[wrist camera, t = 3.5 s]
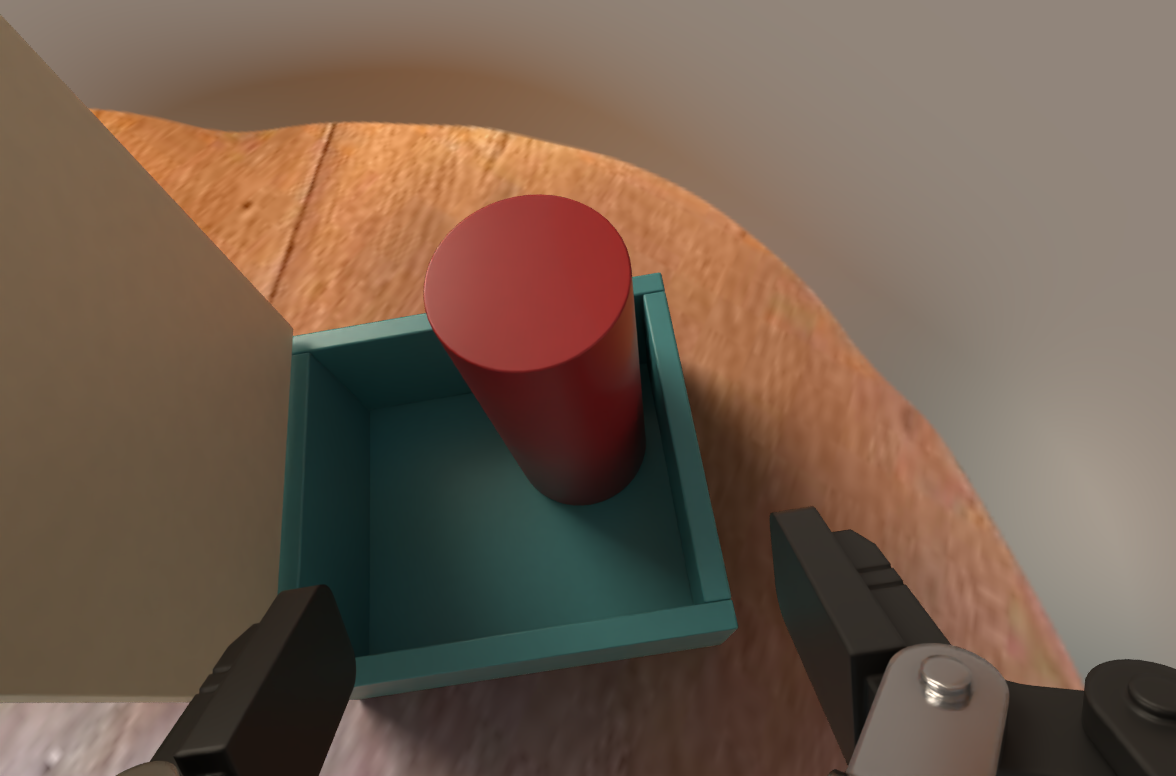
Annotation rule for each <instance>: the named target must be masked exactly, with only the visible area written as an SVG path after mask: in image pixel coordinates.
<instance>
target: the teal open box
mask: <svg viewBox="0 0 1176 776" xmlns="http://www.w3.org/2000/svg"><path fill="white" fill-rule="evenodd" d="M632 281H633V293H634V305H635V317H636V329H637V341H638V353H639V365H640V377H641V389H642V401H643V412H644V424H645V436H646V448H645V454H644V458H643V461H642V464H641V466H640V469H639V471H638V472H637V474H636V476H635V477H634V478H633V480H632V481H631V482H630V483H629V484H628V485H627V486H626V487H625V488H624V489H623V490H622V491H621V492H619V493H618V494H616V495H615V496H613V497H611V498H609V499H607V500H605V501H602V502H599V503H595V504H591V505H568V504H563V503H560V502H557V501H554V500H552V499H550V498H548V497H546V496H545V495H543V494H542V493H540V492H539V491H538V490H537V489H536V488H535V487H534V486H533V485H532V484H531V483H530V481H529V480H528V479H527V477H526V476H525V474H524V472H523V471H522V469H521V468H520V466H519V465H518V463H517V461H516V460H515V458H514V457H513V455H512V454H511V452H510V450H509V449H508V447H507V446H506V444H505V443H504V441H503V440H502V438H501V436H500V435H499V433H498V432H497V430H496V429H495V427H494V425H493V424H492V422H491V421H490V419H489V418H488V416H487V414H486V413H485V411H484V410H483V408H482V407H481V405H480V403H479V402H478V400H477V399H476V397H475V396H474V394H473V393H472V391H471V389H470V388H469V386H468V385H467V383H466V382H465V380H464V378H463V377H462V375H461V374H460V372H459V371H458V369H457V367H456V366H455V364H454V363H453V361H452V360H451V358H450V356H449V355H448V353H447V352H446V350H445V349H444V347H443V345H442V344H441V342H440V341H439V339H438V338H437V336H436V335H435V333H434V331H433V329H432V327H431V325H430V323H429V321H428V318H427V315H426V313H424V314H418V315H412V316H406V317H401V318H395V319H389V320H384V321H378V322H372V323H366V324H361V325H355V326H349V327H343V328H338V329H332V330H326V331H320V332H315V333H309V334H303V335H297V336H293V339H292V356H291V373H290V390H289V407H288V424H287V441H286V458H285V475H284V492H283V509H282V526H281V543H280V560H279V577H278V594H279V593H280V592H281V591H284V590H290V589H296V588H302V587H309V586H315V585H321V584H325V585H327V586H328V587H329V588H330V589H331V591H332V593H333V595H334V598H335V600H336V603H337V606H338V609H339V611H340V614H341V617H342V620H343V622H344V625H345V628H346V631H347V633H348V636H349V639H350V642H351V644H352V647H353V650H354V654H355V659H356V679H355V684H354V688H353V691H352V693H351V696H350V698H349V700H359V699H366V698H372V697H379V696H386V695H392V694H399V693H405V692H412V691H419V690H425V689H432V688H438V687H445V686H452V685H458V684H465V683H471V682H478V681H485V680H491V679H498V678H504V677H511V676H518V675H524V674H531V673H537V672H544V671H550V670H557V669H564V668H570V667H577V666H583V665H590V664H597V663H603V662H610V661H616V660H623V659H630V658H636V657H643V656H649V655H656V654H663V653H669V652H676V651H682V650H689V649H696V648H702V647H709V646H715V645H721V644H722V643H723V642H724V641H725V640H726V639H727V638H728V637H729V636H731V635H732V634H733V633H734V632H735V631H736V630H737V629H738V624H737V619H736V615H735V610H734V605H733V601H732V600H730V599H731V592H730V588H729V583H728V579H727V574H726V569H725V565H724V560H723V556H722V551H721V546H720V542H719V537H718V532H717V528H716V523H715V519H714V514H713V509H712V505H711V500H710V496H709V491H708V486H707V482H706V477H705V473H704V468H703V463H702V459H701V454H700V450H699V445H698V440H697V436H696V431H695V427H694V422H693V417H692V413H691V408H690V404H689V399H688V394H687V390H686V385H685V381H684V376H683V371H682V367H681V362H680V358H679V353H678V348H677V344H676V339H675V335H674V330H673V325H672V321H671V316H670V312H669V307H668V302H667V298H666V294H665V289H664V284H663V279H662V275H661V273H653V274H648V275H642V276H636V277H632ZM278 594H277V595H278Z"/></svg>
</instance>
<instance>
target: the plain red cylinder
mask: <svg viewBox="0 0 1176 776" xmlns="http://www.w3.org/2000/svg"><path fill="white" fill-rule="evenodd" d="M424 306H425V311H426V315H427V318H428V321H429V323H430V325H431V327H432V329H433V331H434V333H435V335H436V336H437V338H438V339H439V341H440V342H441V344H442V345H443V347H444V349H445V350H446V352H447V353H448V355H449V356H450V358H451V360H452V361H453V363H454V364H455V366H456V367H457V369H458V371H459V372H460V374H461V375H462V377H463V378H464V380H465V382H466V383H467V385H468V386H469V388H470V389H471V391H472V393H473V394H474V396H475V397H476V399H477V400H478V402H479V403H480V405H481V407H482V408H483V410H484V411H485V413H486V414H487V416H488V418H489V419H490V421H491V422H492V424H493V425H494V427H495V429H496V430H497V432H498V433H499V435H500V436H501V438H502V440H503V441H504V443H505V444H506V446H507V447H508V449H509V450H510V452H511V454H512V455H513V457H514V458H515V460H516V461H517V463H518V465H519V466H520V468H521V469H522V471H523V472H524V474H525V476H526V477H527V479H528V480H529V481H530V483H531V484H532V485H533V486H534V487H535V488H536V489H537V490H538V491H539V492H540V493H542V494H543V495H545V496H546V497H548V498H550V499H552V500H554V501H557V502H560V503H563V504H568V505H591V504H595V503H599V502H602V501H605V500H607V499H609V498H611V497H613V496H615V495H616V494H618V493H619V492H621V491H622V490H623V489H624V488H625V487H626V486H627V485H628V484H629V483H630V482H631V481H632V480H633V478H634V477H635V476H636V474H637V472H638V471H639V469H640V466H641V464H642V461H643V458H644V454H645V448H646V436H645V424H644V412H643V401H642V389H641V377H640V365H639V353H638V341H637V329H636V317H635V305H634V293H633V281H632V270H631V262H630V257H629V254H628V251H627V248H626V246H625V244H624V241H623V239H622V237H621V236H620V235H619V233H618V232H617V230H616V229H615V228H614V227H613V225H612V224H611V223H610V222H609V221H608V220H607V219H606V218H604V217H603V216H602V215H601V214H599V213H598V212H597V211H595V210H593V209H592V208H590V207H588V206H586V205H584V204H582V203H580V202H577V201H574V200H571V199H568V198H564V197H559V196H553V195H524V196H517V197H512V198H508V199H504V200H501V201H498V202H495V203H492V204H490V205H488V206H486V207H483V208H481V209H479V210H478V211H476V212H474V213H473V214H471V215H469V216H468V217H466V218H465V219H464V220H463V221H461V222H460V223H459V224H457V225H456V226H455V227H454V228H453V229H452V230H451V231H450V232H449V233H448V234H447V236H446V237H445V238H444V239H443V240H442V242H441V243H440V245H439V246H438V248H437V249H436V251H435V252H434V255H433V257H432V259H431V261H430V263H429V266H428V269H427V272H426V276H425V282H424Z"/></svg>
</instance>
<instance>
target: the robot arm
mask: <svg viewBox="0 0 1176 776" xmlns="http://www.w3.org/2000/svg"><path fill="white" fill-rule="evenodd" d="M770 532H771V543H772V554H773V564H774V575H775V585H776V592H777V598H778V602H779V606H780V610H781V613H782V617H783V619H784V622H785V624H786V627H787V629H788V631H789V633H790V636H791V638H792V640H793V643H794V645H795V647H796V649H797V652H798V654H799V656H800V658H801V661H802V663H803V665H804V667H805V670H806V672H807V674H808V677H809V679H810V681H811V683H812V686H813V688H814V690H815V692H816V695H817V697H818V699H819V701H820V704H821V706H822V708H823V711H824V713H825V715H826V717H827V720H828V722H829V724H830V726H831V729H832V731H833V733H834V735H835V738H836V740H837V742H838V744H839V747H840V749H841V751H842V754H843V756H844V758H845V760H846V763H847V765H848V768H847V770H846V771H845V773H844V772H841V771H839V770H836V769H834V770H832V771H831V772H830V773H829V775H828V776H1176V669H1174V668H1171V667H1168V666H1165V665H1161V664H1157V663H1154V662H1148V661H1142V660H1130V659H1125V660H1113V661H1108V662H1105V663H1102V664H1099V665H1098V666H1096V667H1094V668H1093V669H1092V670H1091V671H1090V672H1089V673H1088V675H1087V677H1086V679H1085V688H1084V691H1081V690H1071V689H1061V688H1050V687H1040V686H1031V685H1024V684H1019V683H1015V682H1010V681H1007V680H1004V678H1003V677H1002V675H1001V674H1000V673H999V671H998V670H997V669H996V668H995V667H994V666H993V665H991V664H990V663H989V662H987V661H986V660H985V659H983V658H982V657H980V656H978V655H976V654H974V653H972V652H970V651H968V650H965V649H962V648H959V647H956V646H952V645H951V644H950V643H949V641H948V640H947V639H946V637H945V636H944V635H943V633H942V632H941V631H940V629H939V628H938V627H937V625H936V624H935V623H934V621H933V620H932V619H931V617H930V616H929V615H928V613H927V612H926V611H925V609H924V608H923V607H922V605H921V604H920V603H919V601H918V600H917V599H916V598H915V596H914V595H913V594H912V592H911V591H910V590H909V588H908V587H907V586H906V585H904V584H903V580H902V579H901V578H900V576H899V575H898V574H897V572H896V571H895V570H894V568H891V565H890V563H889V562H888V560H887V559H886V558H885V556H884V555H883V554H882V552H881V551H880V550H879V548H878V547H877V546H876V544H874V543H872V542H871V541H869V540H867V539H866V538H864V537H862V536H861V535H859V534H858V533H856V532H854V531H853V530H851V529H850V530H844V531H837V532H831V531H830V529H829V528H828V526H827V525H826V523H825V522H824V520H823V519H822V517H821V516H820V514H819V513H818V511H817V510H816V508H815V507H813V506H810V507H803V508H797V509H791V510H785V511H779V512H773V513H771V514H770ZM212 670H213V673H212V674H209V675H208V677H207V678H206V680H205V681H204V683H203V684H202V686H201V687H200V689H199V694H195V696H194V697H193V699H192V700H191V702H190V703H189V705H188V706H187V708H186V709H185V711H184V712H183V714H182V715H181V716H180V718H179V719H178V721H177V722H176V724H175V725H174V727H173V728H172V730H171V731H170V733H169V734H168V736H167V737H166V739H165V740H164V741H163V743H162V744H161V746H160V747H159V749H158V750H157V752H156V753H155V755H154V756H153V758H152V759H151V761H150V762H147V763H143V764H140V765H137V766H135V767H132V768H130V769H127V770H125V771H123V772H122V773H120V774H118V775H116V776H319V773H320V771H321V768H322V766H323V763H324V761H325V758H326V756H327V753H328V751H329V748H330V746H331V743H332V741H333V738H334V736H335V733H336V731H337V728H338V726H339V723H340V721H341V718H342V716H343V713H344V711H345V708H346V706H347V703H348V701H349V698H350V696H351V693H352V691H353V688H354V684H355V679H356V659H355V654H354V650H353V647H352V644H351V642H350V639H349V636H348V633H347V631H346V628H345V625H344V622H343V620H342V617H341V614H340V611H339V609H338V606H337V603H336V600H335V598H334V595H333V593H332V591H331V589H330V588H329V587H328V586H327V585H325V584H321V585H315V586H309V587H302V588H296V589H290V590H284V591H281V592H280V593H279V594H278V595H277V597H276V598H275V600H274V601H273V603H272V604H271V606H270V607H269V609H268V610H267V612H266V614H265V615H264V617H263V618H262V620H261V621H260V623H256V624H253V625H252V626H251V627H249V628H248V629H247V630H246V631H245V632H244V633H243V634H242V635H240V636H239V637H238V638H237V639H236V640H235V641H234V642H232V643H231V644H230V645H229V646H228V647H227V649H226V650H225V652H224V653H223V655H222V656H221V658H220V659H219V661H218V662H217V664H216V665H215V667H214V668H213V669H212Z"/></svg>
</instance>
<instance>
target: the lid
mask: <svg viewBox="0 0 1176 776" xmlns="http://www.w3.org/2000/svg"><path fill="white" fill-rule="evenodd" d="M292 339H293V328H292V327H291V325H290V324H289V323H288V322H287V321H286V320H285V319H284V318H283V317H282V316H281V315H280V314H279V313H278V311H277V310H276V309H275V308H274V307H273V306H272V305H271V304H270V303H269V302H268V301H267V300H266V299H265V298H264V296H263V295H262V294H261V293H260V292H259V291H258V290H257V289H256V288H255V287H254V286H253V285H252V284H251V283H250V281H249V280H248V279H247V278H246V277H245V276H244V275H243V274H242V273H241V272H240V271H239V270H238V269H237V268H236V266H235V265H234V264H233V263H232V262H231V261H230V260H229V259H228V258H227V257H226V256H225V255H224V254H223V253H222V251H221V250H220V249H219V248H218V247H217V246H216V245H215V244H214V243H213V242H212V241H211V240H210V239H209V238H208V236H207V235H206V234H205V233H204V232H203V231H202V230H201V229H200V228H199V227H198V226H197V225H196V224H195V222H194V221H193V220H192V219H191V218H190V217H189V216H188V215H187V214H186V213H185V212H184V211H183V210H182V209H181V207H180V206H179V205H178V204H177V203H176V202H175V201H174V200H173V199H172V198H171V197H170V196H169V195H168V194H167V192H166V191H165V190H164V189H163V188H162V187H161V186H160V185H159V184H158V183H157V182H156V181H155V180H154V179H153V177H152V176H151V175H150V174H149V173H148V172H147V171H146V170H145V169H144V168H143V167H142V166H141V165H140V164H139V162H138V161H137V160H136V159H135V158H134V157H133V156H132V155H131V154H130V153H129V152H128V151H127V150H126V149H125V147H124V146H123V145H122V144H121V143H120V142H119V141H118V140H117V139H116V138H115V137H114V136H113V135H112V134H111V132H110V131H109V130H108V129H107V128H106V127H105V126H104V125H103V124H102V123H101V122H100V121H99V120H98V118H97V117H96V116H95V115H94V114H93V113H92V112H91V111H90V110H89V109H88V108H87V107H86V106H85V105H84V104H83V102H82V101H81V100H80V99H79V98H78V97H77V96H76V95H75V94H74V93H73V92H72V91H71V90H70V88H69V87H68V86H67V85H66V84H65V83H64V82H63V81H62V80H61V79H60V78H59V77H58V76H57V75H56V74H55V72H54V71H53V70H52V69H51V68H50V67H49V66H48V65H47V64H46V63H45V62H44V61H43V60H42V58H41V57H40V56H39V55H38V54H37V53H36V52H35V51H34V50H33V49H32V48H31V47H30V46H29V45H28V43H27V42H26V41H25V40H24V39H23V38H22V37H21V36H20V35H19V34H18V33H17V32H16V31H15V30H14V28H13V27H12V26H11V25H10V24H9V23H8V22H7V21H6V20H5V19H4V18H3V17H2V16H1V15H0V703H106V702H191V700H192V699H193V697H194V696H195V694H199V689H200V687H201V686H202V684H203V683H204V681H205V680H206V678H207V677H208V675H209V674H212V673H213V670H212V669H213V668H214V667H215V665H216V664H217V662H218V661H219V659H220V658H221V656H222V655H223V653H224V652H225V650H226V649H227V647H228V646H229V645H230V644H231V643H232V642H234V641H235V640H236V639H237V638H238V637H239V636H240V635H242V634H243V633H244V632H245V631H246V630H247V629H248V628H249V627H251V626H252V625H253V624H256V623H260V621H261V620H262V618H263V617H264V615H265V614H266V612H267V610H268V609H269V607H270V606H271V604H272V603H273V601H274V600H275V598H276V597H277V594H278V577H279V560H280V543H281V526H282V509H283V492H284V475H285V458H286V441H287V424H288V407H289V390H290V373H291V356H292Z"/></svg>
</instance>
